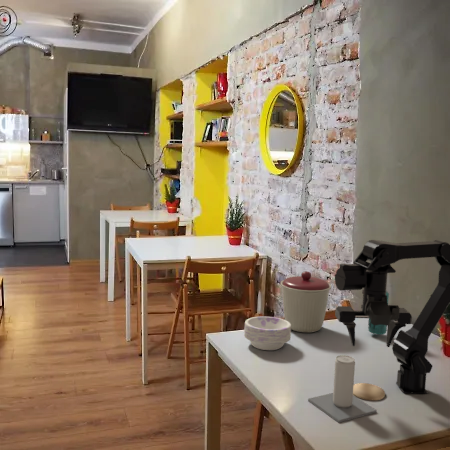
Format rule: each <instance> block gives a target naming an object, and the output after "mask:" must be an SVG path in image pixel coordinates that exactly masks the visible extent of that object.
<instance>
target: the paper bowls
mask: <svg viewBox="0 0 450 450" xmlns="http://www.w3.org/2000/svg"><path fill="white" fill-rule="evenodd" d="M243 331H244V332H243V333H244V335H243V336H244V337H245V339H247V340H248V341H249V342H250V343H251V345H252V346H253V347H254V348H256V349H258V350H262V351H276V350H279V349H281V348H283V346H284V344H285V343H288V342H289V341H291V335H292V334H291V333H292V330H291V324H290V322H288V321H286V320H285V318H284V319H283V318H280V317H275V316H262V315H261V316H253V317H250V318H249V317H248V319H245V322H244V330H243Z"/></svg>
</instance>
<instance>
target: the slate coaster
mask: <svg viewBox="0 0 450 450" xmlns="http://www.w3.org/2000/svg"><path fill="white" fill-rule="evenodd" d="M307 400H308V402H309V403H311V405H313V406H315V407H316V408H318V409H319V410H321V411H322V412H323V413H324V414H325V415H327V416H329V417H330V418H331V419H333V420H334V421H335V422H337V423H342V422H346V421H349V420H354V419H356V418H361V417H363V416H368V415H373V414H376V413H377V410H378V409H375V408H374V407H372V406H371V405H370V404H367V403H366V402H364V401H363V400H362V399H360V398H358V397H356V396H354V395H353V399H352V405H351V406H350V407H348V408H341V407H338V406H336V405H335V404H334V403H333V392H331V393H327V394H323V395H318V396H314V397H310V398H308V399H307Z"/></svg>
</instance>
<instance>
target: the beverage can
mask: <svg viewBox="0 0 450 450" xmlns="http://www.w3.org/2000/svg"><path fill="white" fill-rule="evenodd" d="M334 362H335V363H334V374H333V375H334V378H333V389H332V391H333V392H332V393H333V403H334V404H335V405H336V406H338V407H341V408H348V407H350V406H351V405H352V399H353V396H354V395H353V386H354V382H355V371H356V369H355V368H356V366H355V365H356V361H355V357H352V356H349V355H343V354H342V355H338V356H336V358H335V361H334Z"/></svg>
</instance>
